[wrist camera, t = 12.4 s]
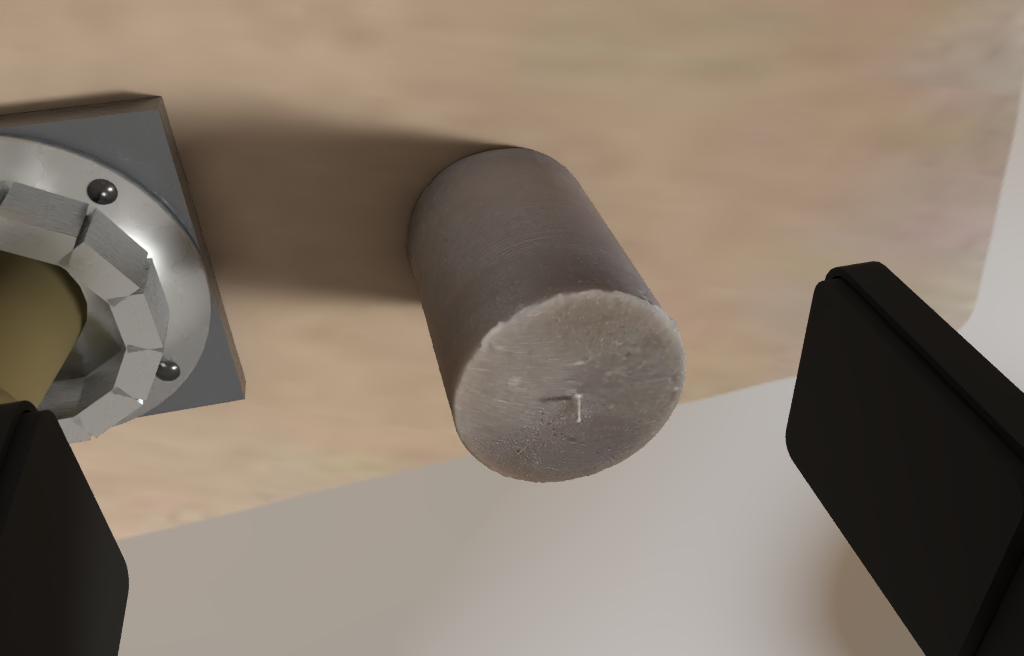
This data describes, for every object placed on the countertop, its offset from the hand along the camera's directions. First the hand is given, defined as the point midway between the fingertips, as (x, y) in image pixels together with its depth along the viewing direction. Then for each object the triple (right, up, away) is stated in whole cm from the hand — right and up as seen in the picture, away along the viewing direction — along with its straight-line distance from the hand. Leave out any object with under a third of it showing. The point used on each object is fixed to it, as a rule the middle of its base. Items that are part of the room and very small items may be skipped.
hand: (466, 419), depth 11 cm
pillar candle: (0, +6, +34) cm, 35 cm away
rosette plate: (-22, +3, +30) cm, 37 cm away
